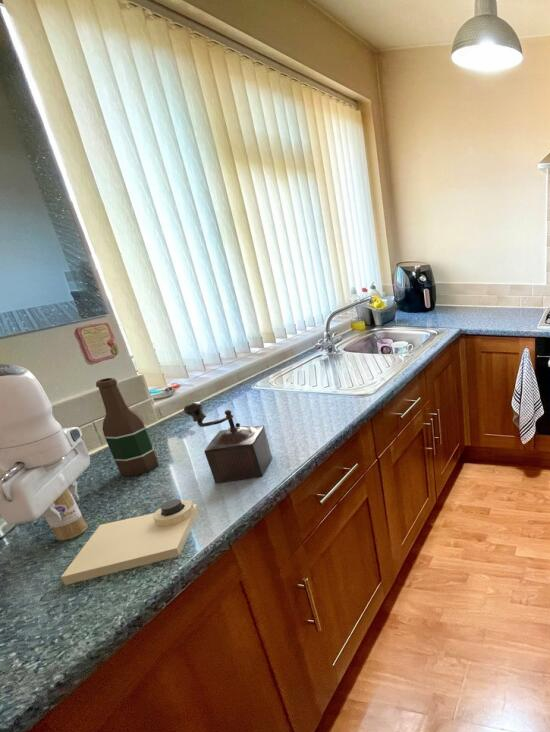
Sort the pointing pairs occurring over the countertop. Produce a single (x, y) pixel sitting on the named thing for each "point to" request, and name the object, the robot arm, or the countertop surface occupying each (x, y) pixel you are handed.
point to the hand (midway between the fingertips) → (65, 511)
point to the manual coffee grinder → (234, 448)
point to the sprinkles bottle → (68, 516)
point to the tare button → (171, 507)
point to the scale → (132, 543)
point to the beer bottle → (125, 432)
